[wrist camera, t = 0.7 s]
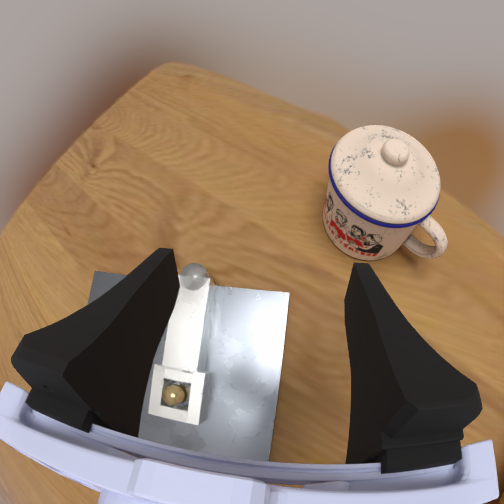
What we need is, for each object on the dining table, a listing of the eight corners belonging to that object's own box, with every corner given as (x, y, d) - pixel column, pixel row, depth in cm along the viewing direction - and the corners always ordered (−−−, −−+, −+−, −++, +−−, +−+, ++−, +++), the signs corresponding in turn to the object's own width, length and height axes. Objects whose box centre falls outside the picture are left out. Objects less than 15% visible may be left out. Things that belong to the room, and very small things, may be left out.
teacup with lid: (300, 219, 31) (304, 143, 20) (358, 165, 32) (379, 85, 21) (392, 305, 27) (448, 268, 16) (443, 240, 29) (501, 182, 18)
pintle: (192, 402, 26) (179, 407, 22) (175, 399, 26) (160, 402, 23) (195, 385, 26) (181, 388, 23) (178, 382, 26) (163, 383, 23)
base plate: (266, 476, 23) (265, 478, 23) (75, 425, 26) (72, 426, 26) (289, 294, 29) (289, 292, 28) (97, 272, 32) (95, 270, 31)
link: (206, 420, 25) (198, 425, 23) (159, 410, 26) (148, 413, 23) (226, 273, 29) (220, 265, 27) (181, 269, 30) (171, 260, 28)
